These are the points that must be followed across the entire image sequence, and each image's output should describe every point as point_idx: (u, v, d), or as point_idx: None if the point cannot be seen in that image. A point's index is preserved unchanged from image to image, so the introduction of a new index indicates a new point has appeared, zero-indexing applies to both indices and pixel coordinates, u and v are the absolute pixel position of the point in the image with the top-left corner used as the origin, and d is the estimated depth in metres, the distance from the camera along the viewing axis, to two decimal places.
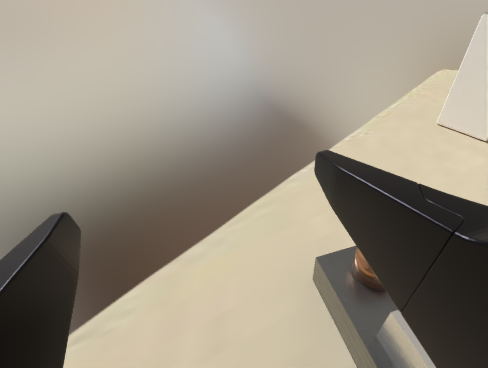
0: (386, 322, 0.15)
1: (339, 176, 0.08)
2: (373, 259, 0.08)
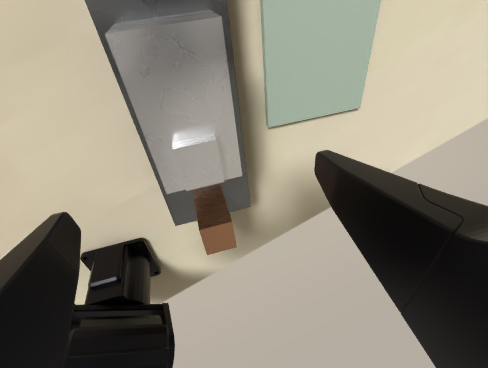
0: None
1: (339, 176, 0.08)
2: (373, 259, 0.08)
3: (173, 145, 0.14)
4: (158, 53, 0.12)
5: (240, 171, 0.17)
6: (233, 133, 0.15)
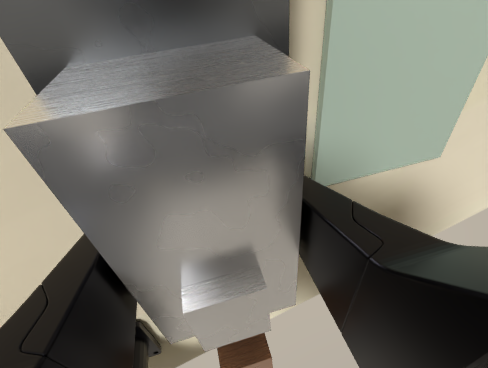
0: None
1: None
2: (316, 276, 0.08)
3: (184, 299, 0.07)
4: (152, 157, 0.05)
5: (293, 300, 0.10)
6: (292, 260, 0.08)
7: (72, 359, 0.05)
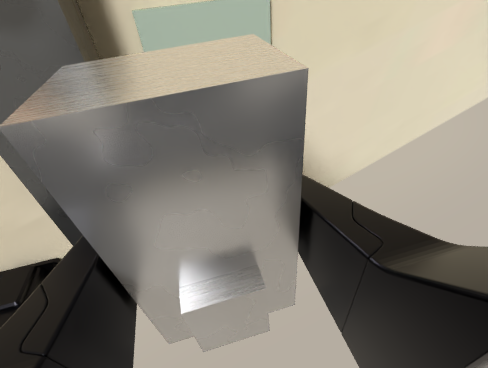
0: None
1: None
2: (316, 276, 0.08)
3: (182, 299, 0.07)
4: (149, 155, 0.05)
5: (293, 300, 0.10)
6: (291, 260, 0.08)
7: (72, 359, 0.05)
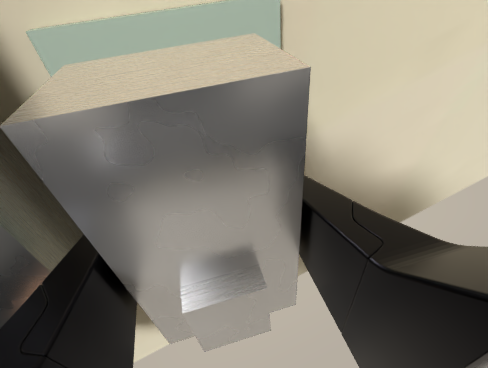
0: None
1: None
2: (316, 276, 0.08)
3: (183, 299, 0.07)
4: (151, 154, 0.05)
5: (294, 300, 0.10)
6: (293, 259, 0.08)
7: (72, 359, 0.05)
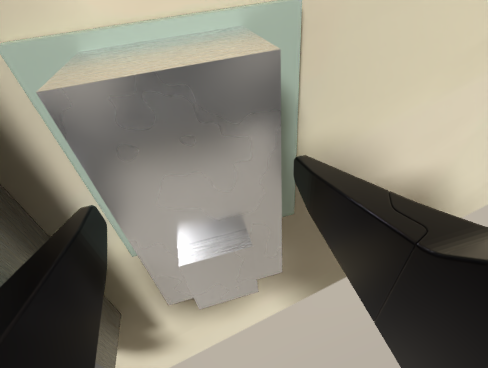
0: None
1: (314, 182, 0.08)
2: (347, 267, 0.08)
3: (180, 255, 0.08)
4: (153, 120, 0.06)
5: (280, 267, 0.11)
6: (276, 225, 0.09)
7: None
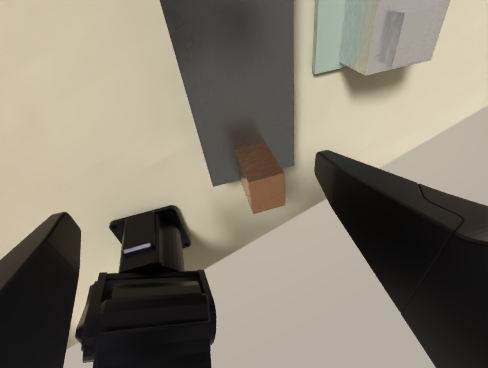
0: None
1: (339, 176, 0.08)
2: (373, 259, 0.08)
3: (401, 12, 0.15)
4: None
5: (431, 54, 0.18)
6: (446, 5, 0.16)
7: None
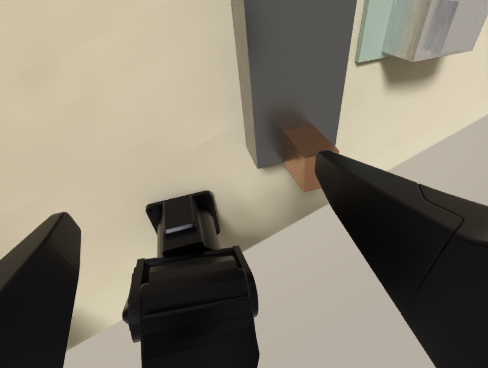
0: None
1: (339, 176, 0.08)
2: (373, 259, 0.08)
3: (454, 0, 0.16)
4: None
5: (473, 44, 0.19)
6: None
7: None
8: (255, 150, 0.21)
